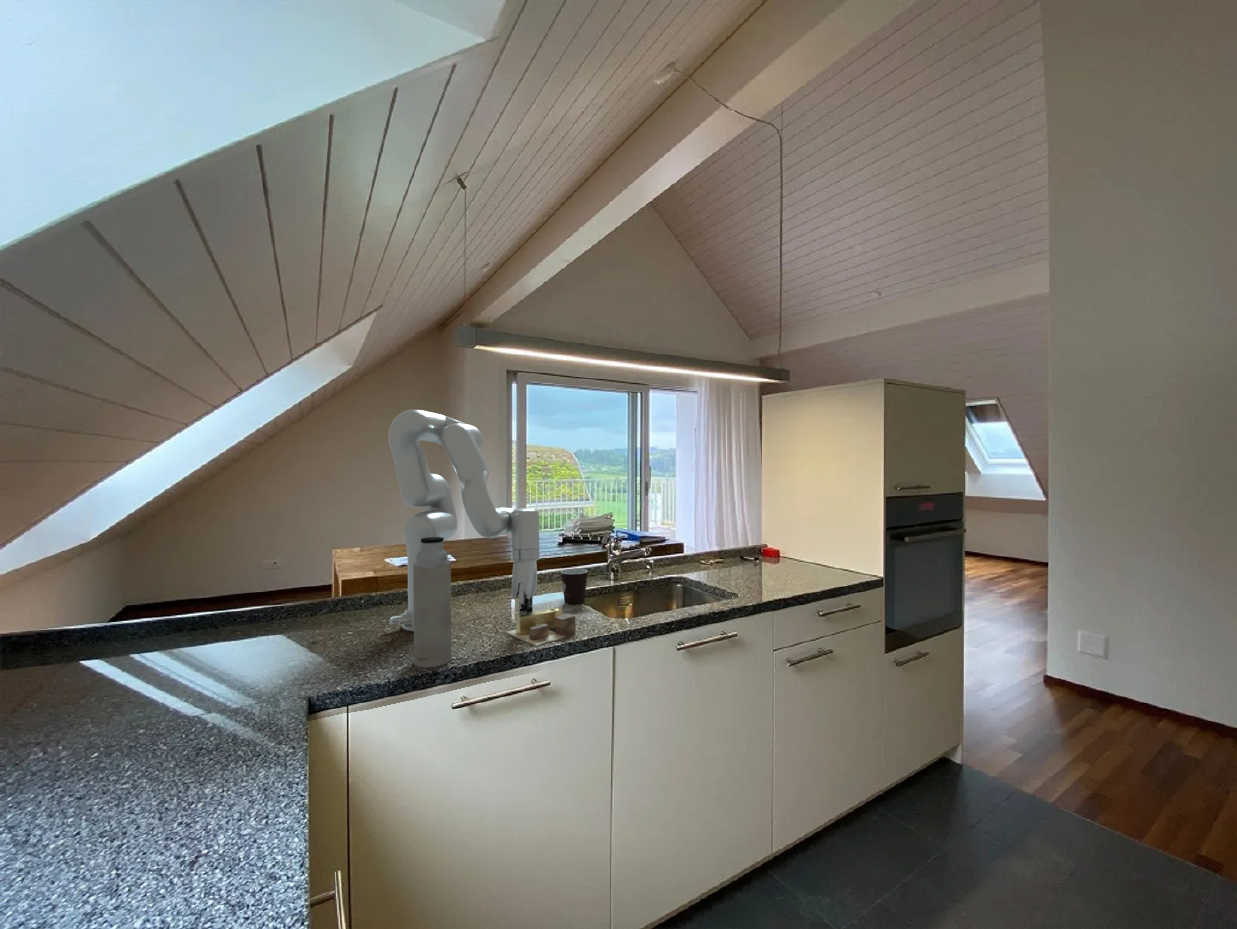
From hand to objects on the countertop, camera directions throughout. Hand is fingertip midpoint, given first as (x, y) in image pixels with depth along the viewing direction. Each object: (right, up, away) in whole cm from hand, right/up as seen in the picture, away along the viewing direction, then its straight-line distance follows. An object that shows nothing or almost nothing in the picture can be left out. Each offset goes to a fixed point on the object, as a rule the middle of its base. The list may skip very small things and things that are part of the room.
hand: (526, 621), depth 138 cm
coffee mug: (+11, -2, +28) cm, 30 cm away
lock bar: (+4, -1, -2) cm, 5 cm away
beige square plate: (+5, -2, -3) cm, 7 cm away
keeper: (+5, -2, -8) cm, 10 cm away
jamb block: (+11, -2, -4) cm, 12 cm away
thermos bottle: (-17, -2, -22) cm, 28 cm away
